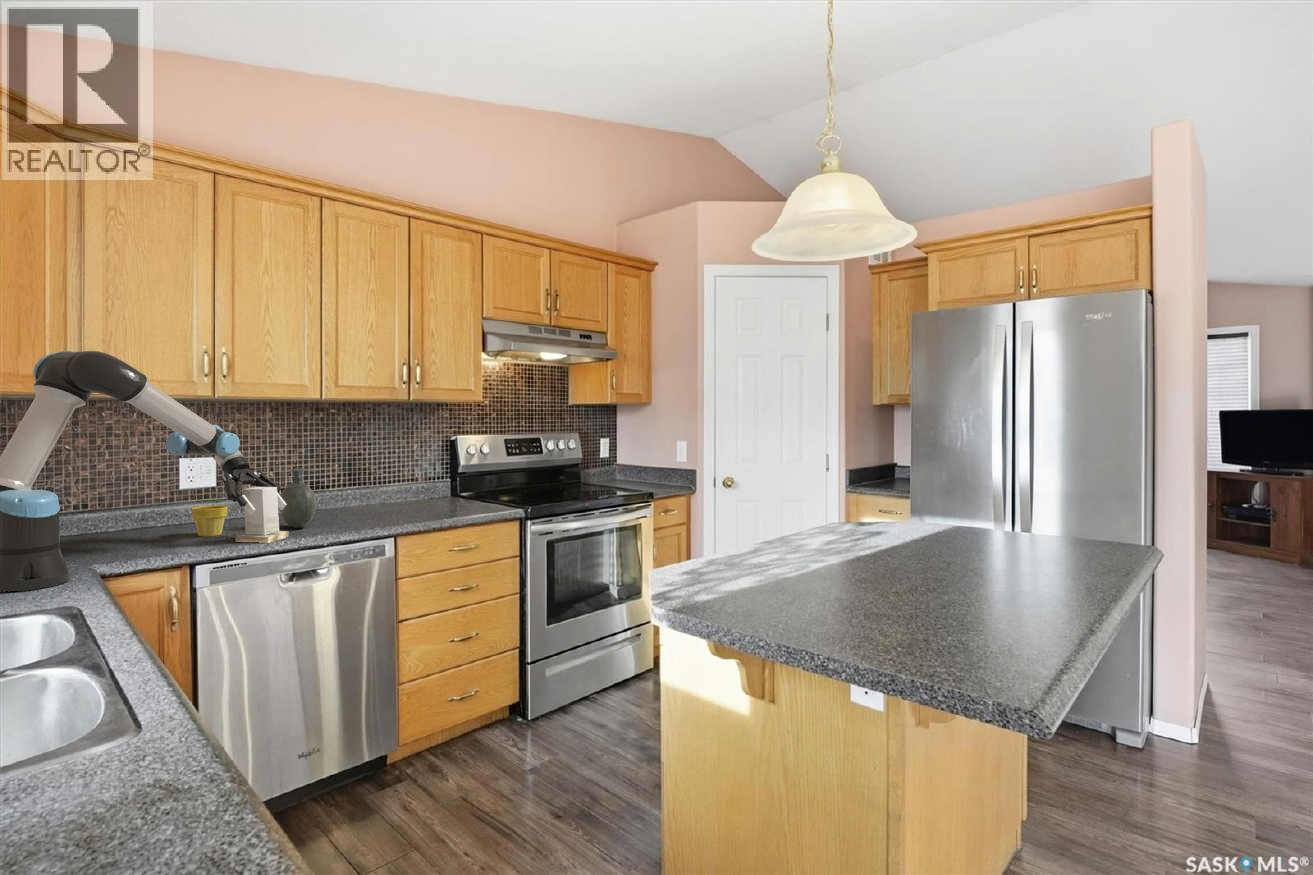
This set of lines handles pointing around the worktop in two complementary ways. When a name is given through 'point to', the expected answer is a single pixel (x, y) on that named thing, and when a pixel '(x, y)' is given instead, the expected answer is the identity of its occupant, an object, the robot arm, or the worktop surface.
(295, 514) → the flask
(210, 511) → the plant pot
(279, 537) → the birch board
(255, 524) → the skincare box
